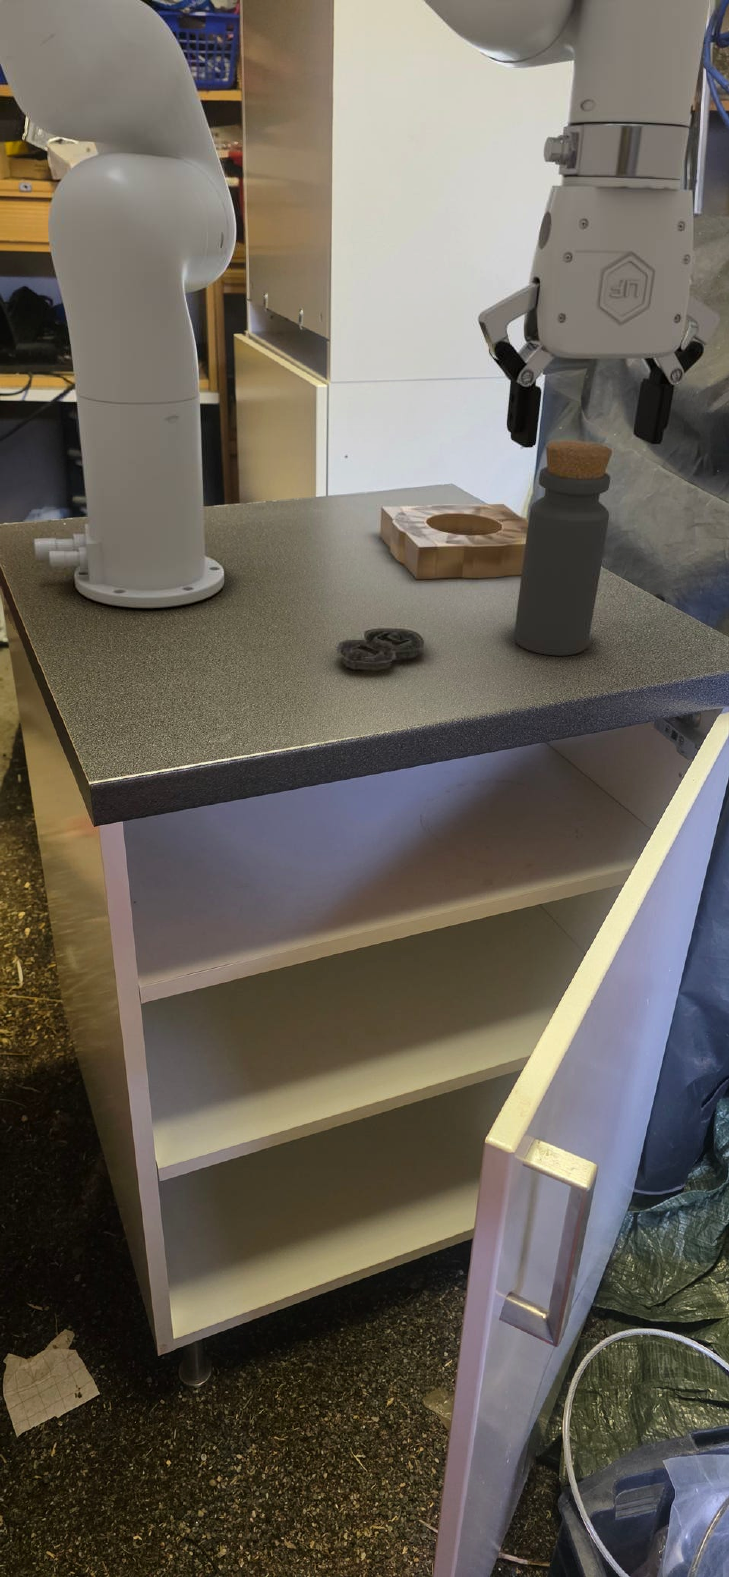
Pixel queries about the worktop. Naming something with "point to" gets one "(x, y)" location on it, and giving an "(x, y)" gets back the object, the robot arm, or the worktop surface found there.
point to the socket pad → (456, 540)
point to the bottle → (564, 550)
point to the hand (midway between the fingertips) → (585, 442)
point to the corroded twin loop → (380, 648)
